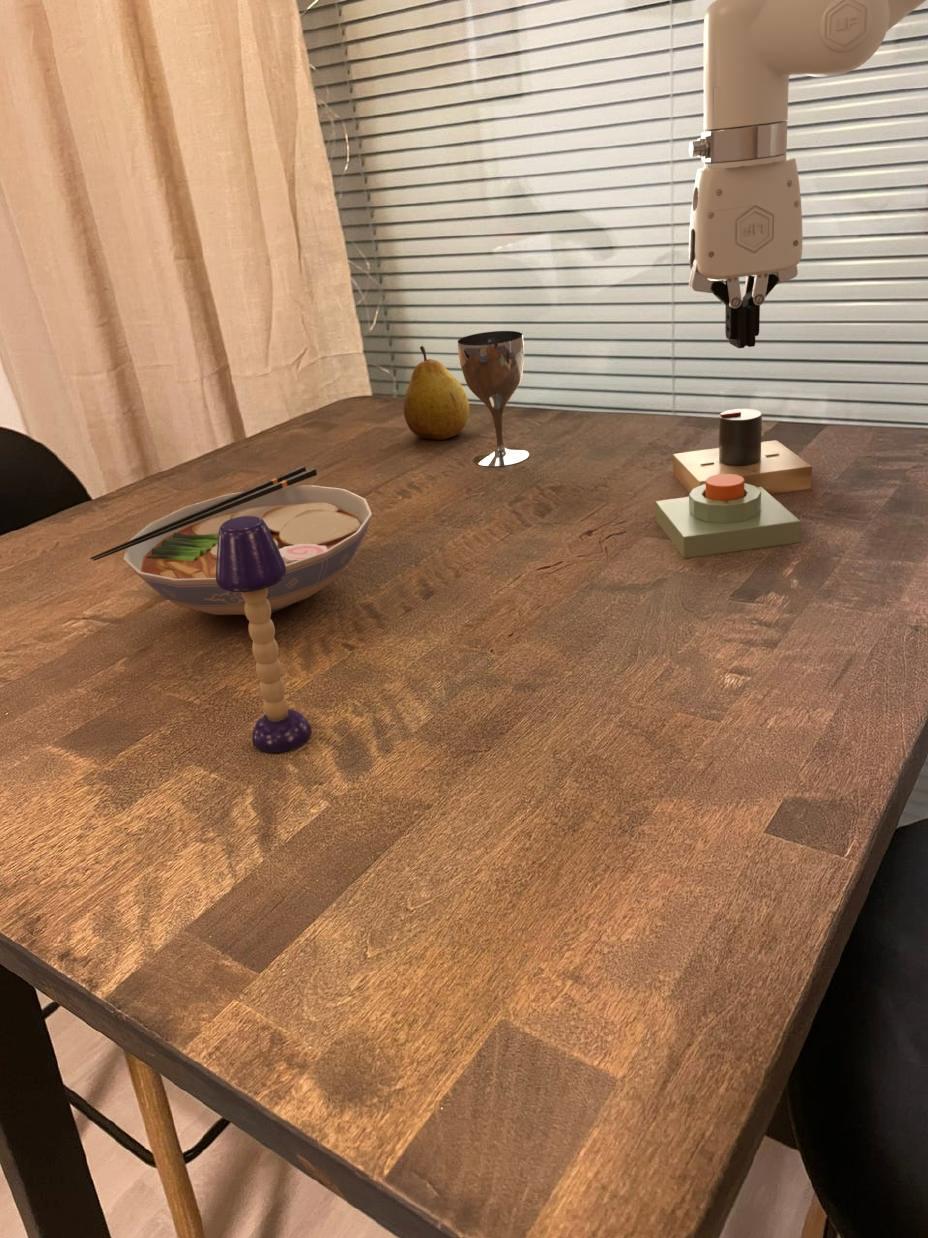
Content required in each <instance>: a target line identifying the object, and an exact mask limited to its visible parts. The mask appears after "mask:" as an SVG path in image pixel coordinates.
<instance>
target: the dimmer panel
mask: <svg viewBox="0 0 928 1238" xmlns="http://www.w3.org/2000/svg"><path fill="white" fill-rule="evenodd" d="M718 474H735V475H739V476H741V477H743V478H744V480H745V483H746V484H750V485H753V486H755V487H762V488H763V489H765V490H766V491H767V492H768V493H769V494H770V495H775V494H783V493H790V492H797V491H804V490H811V489H812V479H813V478H812V475H813V465H811V464H810V463H808V462H807V461H806V460H805V459H803V458H802V457H800V456H798V455H797V454H796V453H795V452H793V451H792V450H791V449H789V448H788V447H786V446H785V445H784V444H782V443H781V442H780V441H778V440H777V439H774V440H767V441H761V459H760V461H758V462H757V463H754V464H750V465H743V466H733V465H727V464H723V463H721V462H720V461H719V447H716V448H707V449H699V450H693V451H685V452H679V453H673V454H672V476H673V477H675V478H676V480H677V481H678V482H680V484H681V485H682V486H683V487H684V489H686V491H687V492H688V493H689V494H690V493H691V491H692V490H693V489H694V488H696V487H698V486H701V485H703V484H706V479H707V478H708V477H711V476H714V475H718Z"/></svg>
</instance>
